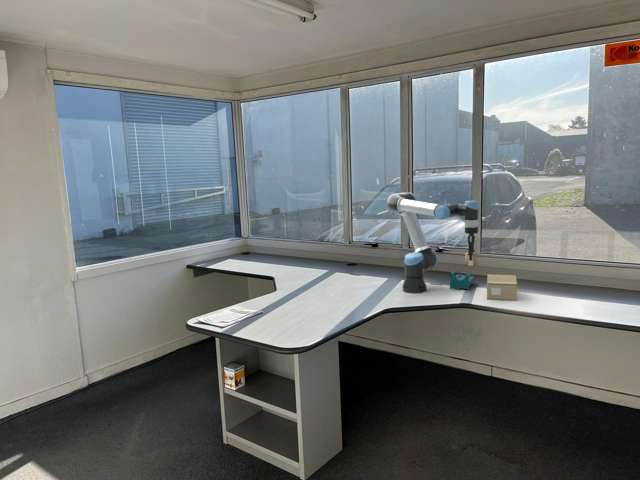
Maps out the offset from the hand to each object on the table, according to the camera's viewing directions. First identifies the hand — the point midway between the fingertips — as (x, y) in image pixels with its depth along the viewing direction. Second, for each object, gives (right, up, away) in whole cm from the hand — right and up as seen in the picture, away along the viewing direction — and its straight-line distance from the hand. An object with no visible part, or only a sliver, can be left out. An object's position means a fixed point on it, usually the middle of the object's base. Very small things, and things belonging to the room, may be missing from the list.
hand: (471, 264), depth 273 cm
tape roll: (0, -1, 0) cm, 1 cm away
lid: (+16, -9, -6) cm, 19 cm away
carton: (+17, -18, -4) cm, 25 cm away
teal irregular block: (0, -16, +20) cm, 25 cm away
